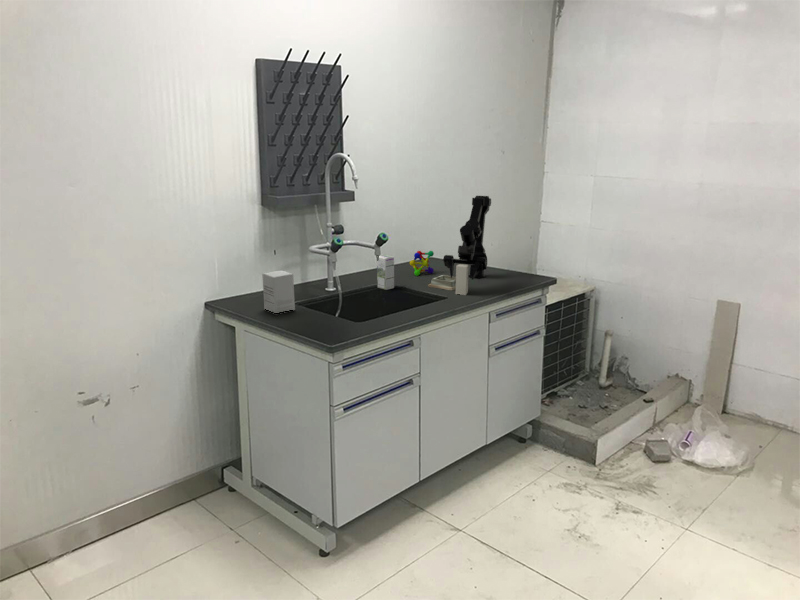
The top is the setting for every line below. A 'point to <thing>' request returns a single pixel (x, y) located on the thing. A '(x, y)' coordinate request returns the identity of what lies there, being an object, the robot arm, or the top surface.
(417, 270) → the molecular model
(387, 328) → the top surface
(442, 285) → the jig
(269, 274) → the supplement box
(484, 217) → the robot arm
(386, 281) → the syrup box
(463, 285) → the fuselage block
